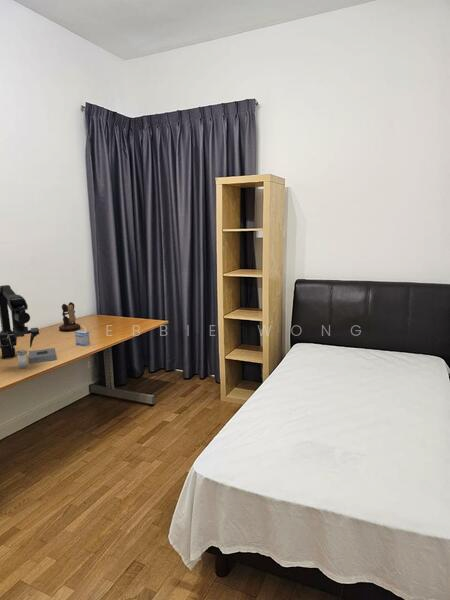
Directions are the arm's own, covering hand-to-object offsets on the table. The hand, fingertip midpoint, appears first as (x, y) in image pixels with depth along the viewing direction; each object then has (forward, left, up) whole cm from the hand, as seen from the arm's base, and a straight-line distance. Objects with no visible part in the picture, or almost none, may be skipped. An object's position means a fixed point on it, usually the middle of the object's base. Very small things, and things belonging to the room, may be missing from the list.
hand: (21, 348), depth 210 cm
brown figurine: (+30, +74, -11) cm, 80 cm away
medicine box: (+34, +29, -11) cm, 46 cm away
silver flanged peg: (0, 0, -10) cm, 11 cm away
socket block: (+10, +12, -10) cm, 19 cm away
